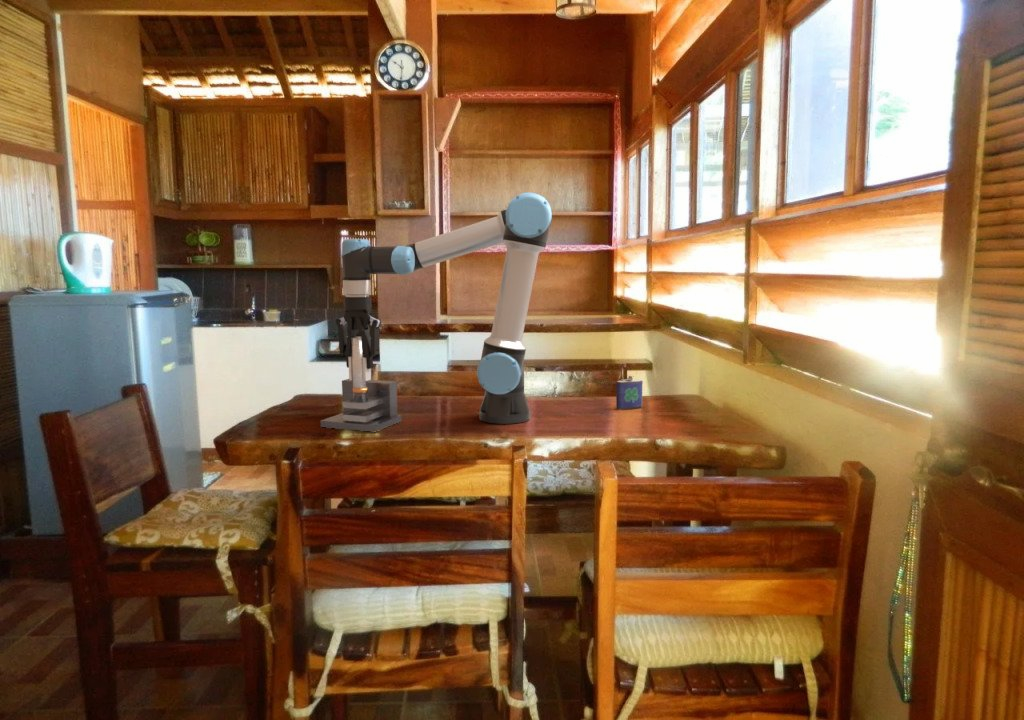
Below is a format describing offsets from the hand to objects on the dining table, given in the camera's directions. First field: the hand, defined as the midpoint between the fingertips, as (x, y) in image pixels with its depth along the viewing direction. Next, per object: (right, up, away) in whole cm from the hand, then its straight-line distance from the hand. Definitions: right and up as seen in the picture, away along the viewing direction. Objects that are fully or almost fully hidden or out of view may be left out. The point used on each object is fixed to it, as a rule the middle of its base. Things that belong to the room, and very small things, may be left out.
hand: (360, 379), depth 191 cm
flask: (+80, -10, +26) cm, 85 cm away
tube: (0, -6, +1) cm, 6 cm away
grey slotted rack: (-1, -13, +5) cm, 14 cm away
